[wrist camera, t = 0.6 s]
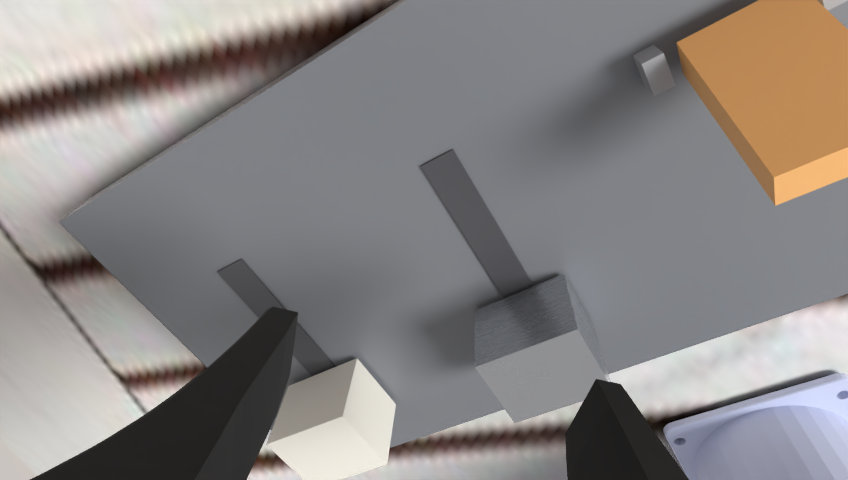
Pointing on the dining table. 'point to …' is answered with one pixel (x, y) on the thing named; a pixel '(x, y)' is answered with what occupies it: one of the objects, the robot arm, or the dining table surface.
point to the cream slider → (334, 424)
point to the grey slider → (538, 349)
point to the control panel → (468, 200)
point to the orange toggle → (777, 91)
